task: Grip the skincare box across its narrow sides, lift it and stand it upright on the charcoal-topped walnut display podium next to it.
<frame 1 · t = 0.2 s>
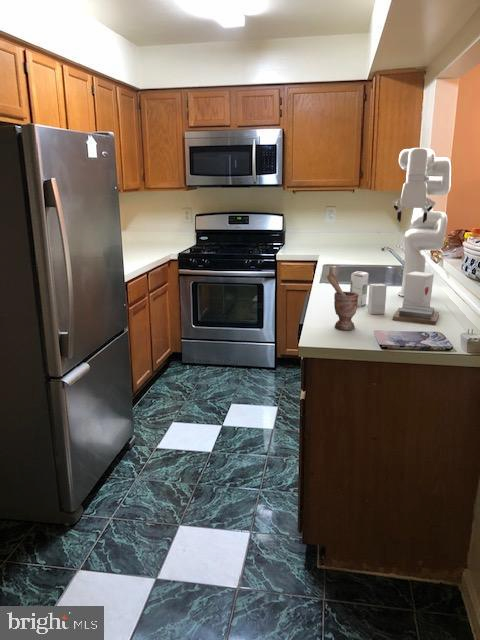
hand: (411, 222, 215), 36 cm above the worktop, tool pointing down, fingers open, 9 cm apart
supplement box: (416, 308, 223), on the worktop
syrup box: (357, 305, 226), on the worktop
skincare box: (375, 313, 213), on the worktop
mortar and pestle: (339, 328, 191), on the worktop
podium: (416, 317, 206), on the worktop
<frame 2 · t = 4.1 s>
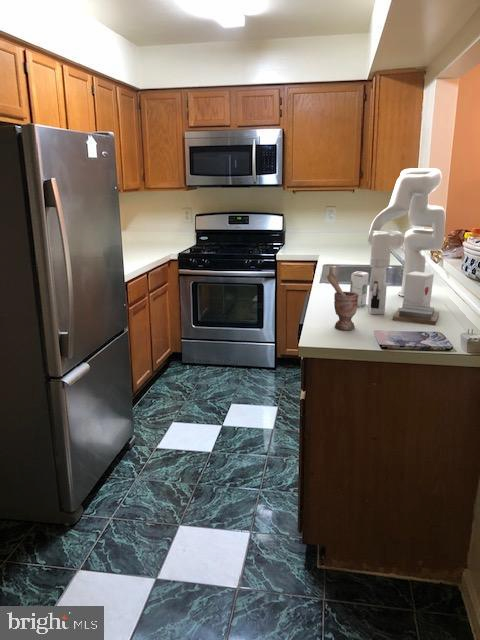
hand: (376, 305, 212), 3 cm above the worktop, tool pointing down, fingers closed on skincare box, 6 cm apart
skincare box: (375, 313, 213), on the worktop, touching gripper
everything else where it was.
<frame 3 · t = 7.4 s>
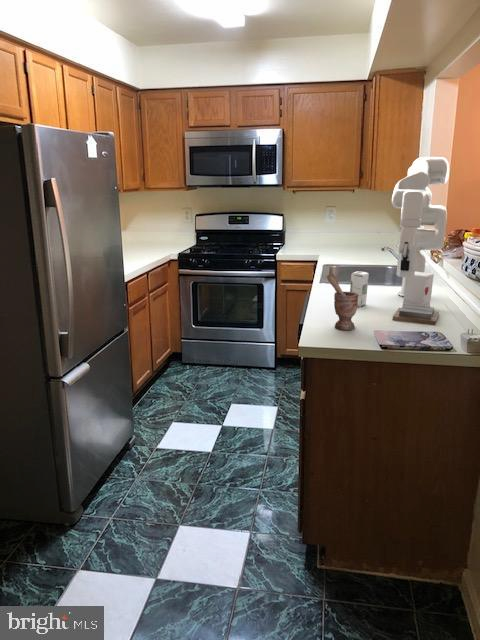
hand: (406, 268, 204), 19 cm above the worktop, tool pointing down, fingers closed on skincare box, 6 cm apart
skincare box: (404, 276, 204), point 16 cm above the worktop, touching gripper
everything else where it was.
when the fingers open (8 cm above the worktop, at t = 10.9 s): skincare box drops 1 cm, resting on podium.
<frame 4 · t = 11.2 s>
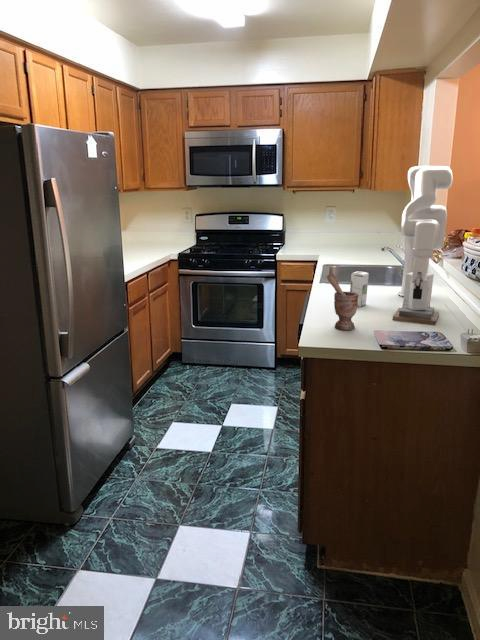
hand: (418, 296, 204), 9 cm above the worktop, tool pointing down, fingers open, 9 cm apart
skincare box: (416, 309, 205), point 3 cm above the worktop, touching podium
everything else where it was.
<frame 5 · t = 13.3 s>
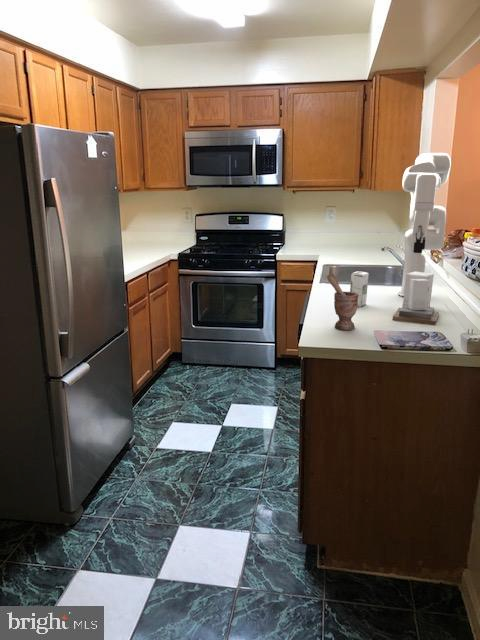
hand: (418, 250, 203), 26 cm above the worktop, tool pointing down, fingers open, 9 cm apart
nothing on the worktop moved.
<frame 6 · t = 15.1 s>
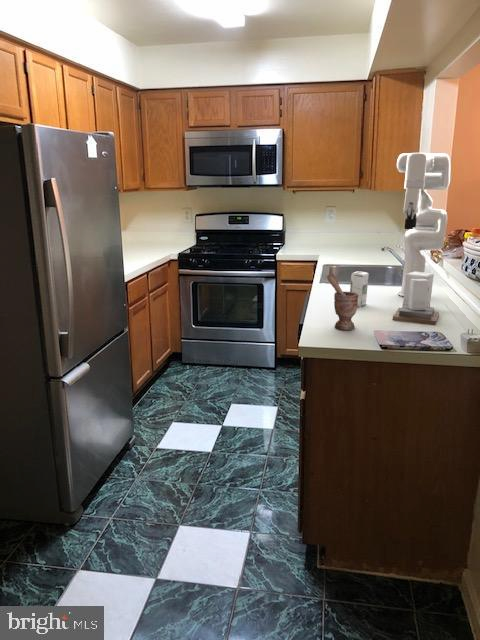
hand: (410, 228, 211), 34 cm above the worktop, tool pointing down, fingers open, 9 cm apart
nothing on the worktop moved.
at the end: skincare box inside the target area on the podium (0.1 cm from its centre), point 3.3 cm above the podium's base; skincare box tilted 0°; the gripper is holding nothing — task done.
